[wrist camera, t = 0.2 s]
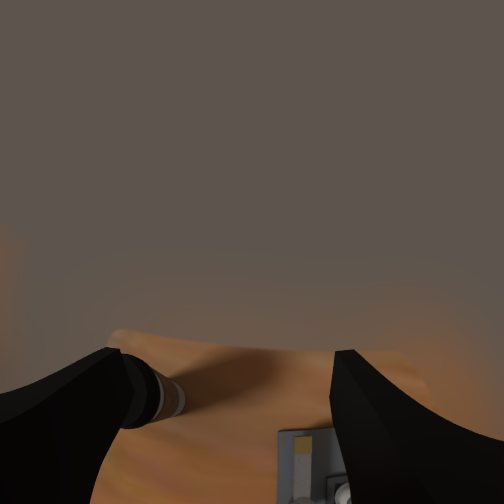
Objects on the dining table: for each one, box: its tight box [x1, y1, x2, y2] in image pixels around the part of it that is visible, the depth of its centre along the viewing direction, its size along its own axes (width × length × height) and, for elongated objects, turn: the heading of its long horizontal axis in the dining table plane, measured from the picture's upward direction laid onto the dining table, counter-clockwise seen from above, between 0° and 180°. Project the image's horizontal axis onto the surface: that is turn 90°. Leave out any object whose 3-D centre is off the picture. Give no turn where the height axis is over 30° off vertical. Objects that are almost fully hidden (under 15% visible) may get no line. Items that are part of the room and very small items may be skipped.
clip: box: [288, 435, 314, 504], centre depth 25 cm, size 12×3×2 cm, turn 0°
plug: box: [334, 482, 351, 504], centre depth 22 cm, size 5×5×5 cm
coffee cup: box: [120, 354, 185, 429], centre depth 28 cm, size 8×8×15 cm
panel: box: [277, 427, 348, 504], centre depth 26 cm, size 16×16×2 cm
